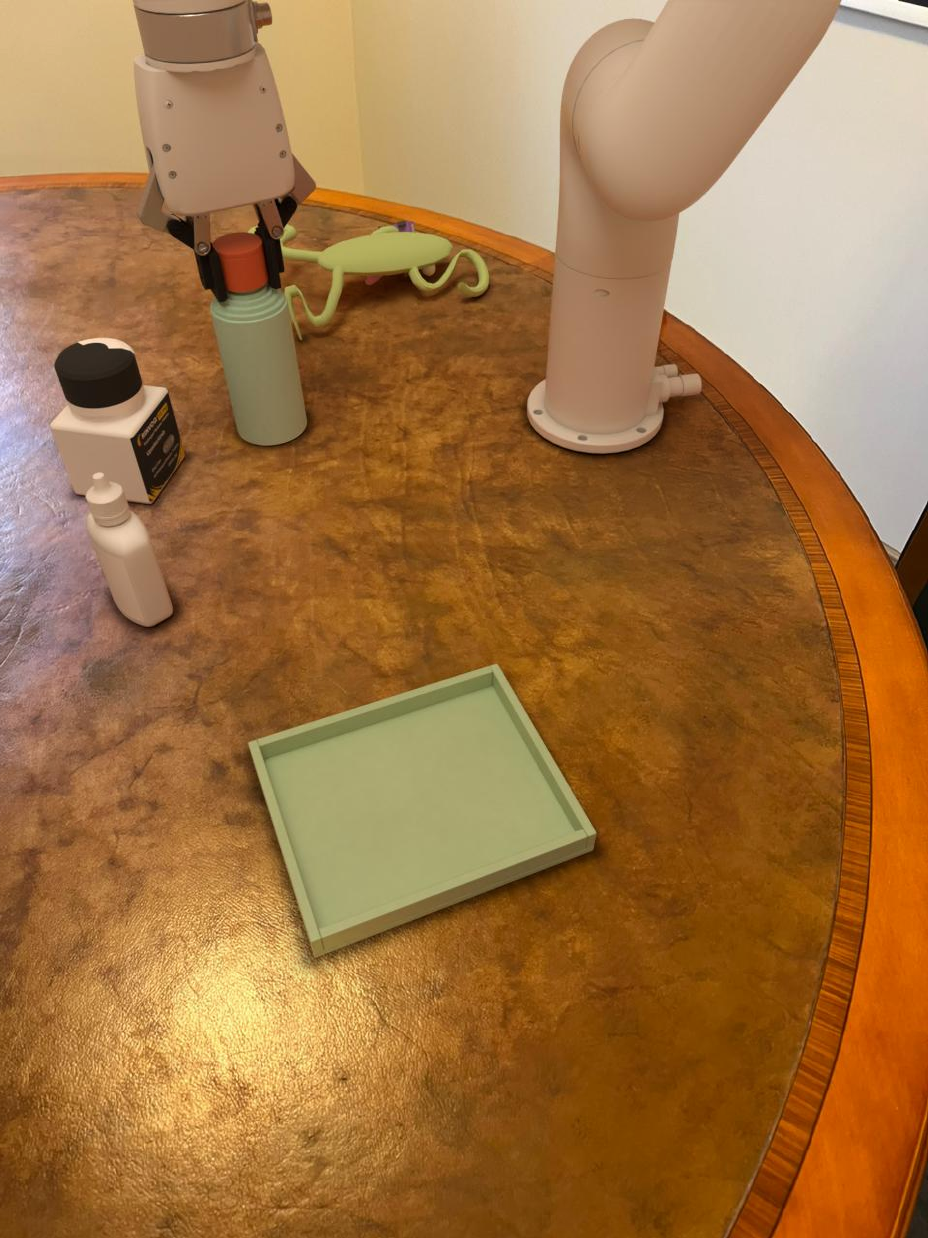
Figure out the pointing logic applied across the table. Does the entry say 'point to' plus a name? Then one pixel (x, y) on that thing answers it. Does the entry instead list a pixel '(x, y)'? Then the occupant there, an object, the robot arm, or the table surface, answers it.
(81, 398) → the medicine bottle
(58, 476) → the table surface
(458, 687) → the tray
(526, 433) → the table surface
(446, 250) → the figurine
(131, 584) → the eye dropper bottle
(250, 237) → the cap
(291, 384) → the bottle
